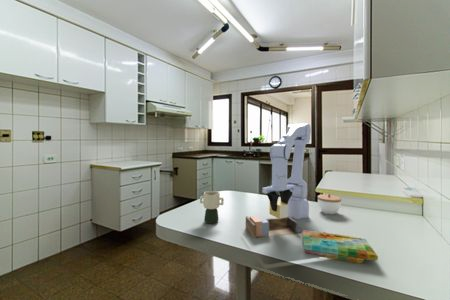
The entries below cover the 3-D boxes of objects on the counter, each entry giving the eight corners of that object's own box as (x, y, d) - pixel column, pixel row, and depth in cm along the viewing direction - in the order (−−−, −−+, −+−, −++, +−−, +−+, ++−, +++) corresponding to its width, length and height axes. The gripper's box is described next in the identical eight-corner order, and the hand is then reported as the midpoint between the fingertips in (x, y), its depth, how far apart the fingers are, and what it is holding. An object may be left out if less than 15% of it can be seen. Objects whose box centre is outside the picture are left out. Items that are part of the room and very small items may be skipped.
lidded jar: (312, 210, 113) (313, 192, 112) (329, 208, 116) (329, 190, 116) (328, 217, 103) (328, 197, 102) (345, 214, 106) (346, 195, 106)
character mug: (225, 220, 98) (225, 191, 97) (221, 226, 91) (221, 195, 90) (202, 217, 101) (202, 190, 100) (196, 223, 94) (196, 193, 93)
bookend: (294, 225, 90) (295, 216, 90) (303, 232, 84) (304, 221, 84) (287, 226, 89) (287, 216, 89) (295, 232, 83) (295, 222, 83)
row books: (262, 228, 87) (262, 215, 86) (268, 235, 81) (269, 220, 81) (249, 230, 86) (249, 216, 85) (255, 236, 80) (255, 222, 79)
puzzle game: (302, 227, 79) (365, 235, 73) (302, 240, 80) (364, 249, 73) (303, 242, 68) (377, 253, 62) (303, 256, 68) (377, 269, 62)
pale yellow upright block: (277, 212, 89) (277, 200, 88) (287, 217, 83) (288, 204, 83) (269, 213, 87) (269, 201, 87) (279, 218, 81) (279, 205, 81)
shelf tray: (292, 225, 92) (292, 212, 92) (305, 234, 83) (305, 220, 83) (245, 230, 87) (245, 216, 87) (253, 240, 79) (253, 225, 78)
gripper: (287, 172, 91) (286, 204, 91) (258, 174, 85) (257, 209, 85) (299, 175, 84) (298, 209, 85) (269, 177, 78) (268, 214, 79)
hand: (278, 209), depth 85 cm, fingers closed on pale yellow upright block, 4 cm apart
